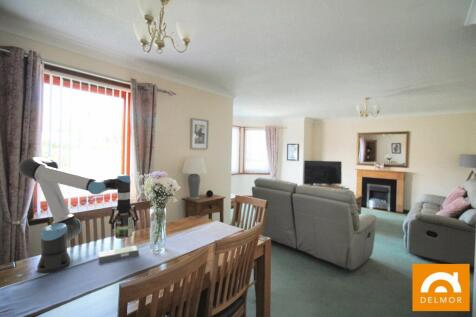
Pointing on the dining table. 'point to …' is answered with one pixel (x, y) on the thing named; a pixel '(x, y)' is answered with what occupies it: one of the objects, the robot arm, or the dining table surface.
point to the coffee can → (123, 226)
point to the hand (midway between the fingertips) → (123, 232)
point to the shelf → (118, 254)
